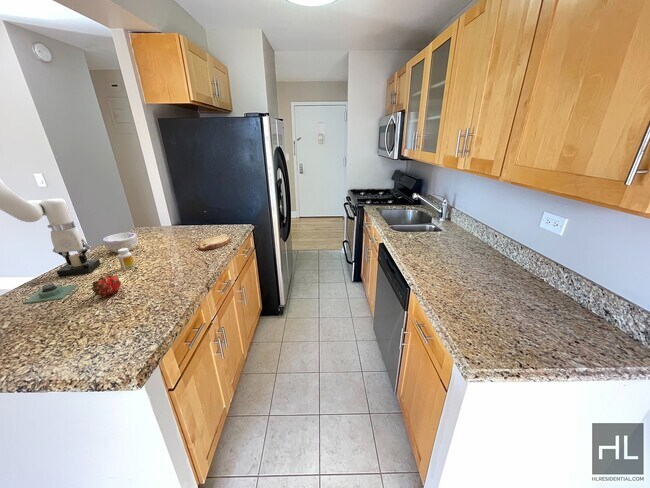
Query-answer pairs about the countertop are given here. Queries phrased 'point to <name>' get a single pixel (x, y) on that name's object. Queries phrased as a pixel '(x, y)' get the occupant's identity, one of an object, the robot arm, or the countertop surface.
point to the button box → (52, 294)
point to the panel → (79, 268)
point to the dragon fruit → (106, 285)
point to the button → (49, 288)
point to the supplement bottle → (125, 259)
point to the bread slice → (214, 242)
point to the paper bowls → (120, 241)
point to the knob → (75, 260)
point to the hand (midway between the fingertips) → (77, 262)
